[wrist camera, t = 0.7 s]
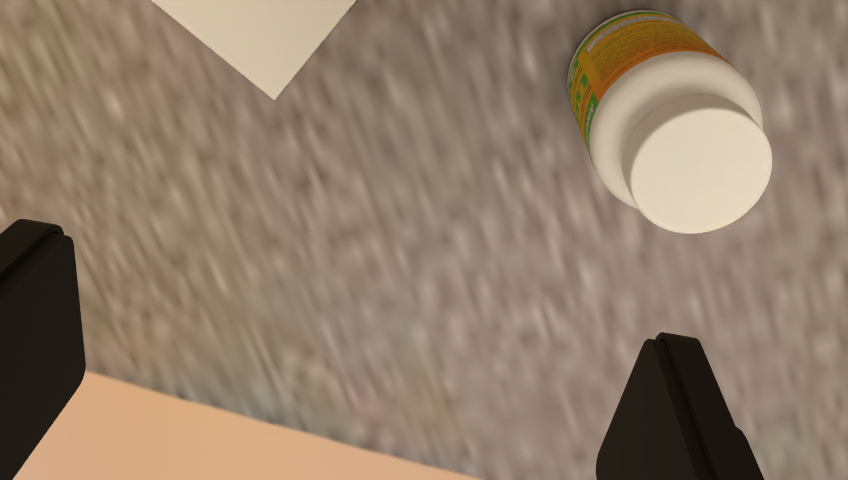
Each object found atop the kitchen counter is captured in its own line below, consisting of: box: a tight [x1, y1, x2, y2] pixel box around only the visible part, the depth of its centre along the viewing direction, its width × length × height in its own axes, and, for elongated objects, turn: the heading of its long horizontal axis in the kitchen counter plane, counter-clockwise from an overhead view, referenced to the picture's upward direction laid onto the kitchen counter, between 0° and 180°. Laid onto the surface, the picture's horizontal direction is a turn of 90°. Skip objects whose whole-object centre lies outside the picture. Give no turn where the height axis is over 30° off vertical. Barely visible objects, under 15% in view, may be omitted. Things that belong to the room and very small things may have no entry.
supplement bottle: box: [567, 10, 772, 234], centre depth 33 cm, size 7×7×13 cm
